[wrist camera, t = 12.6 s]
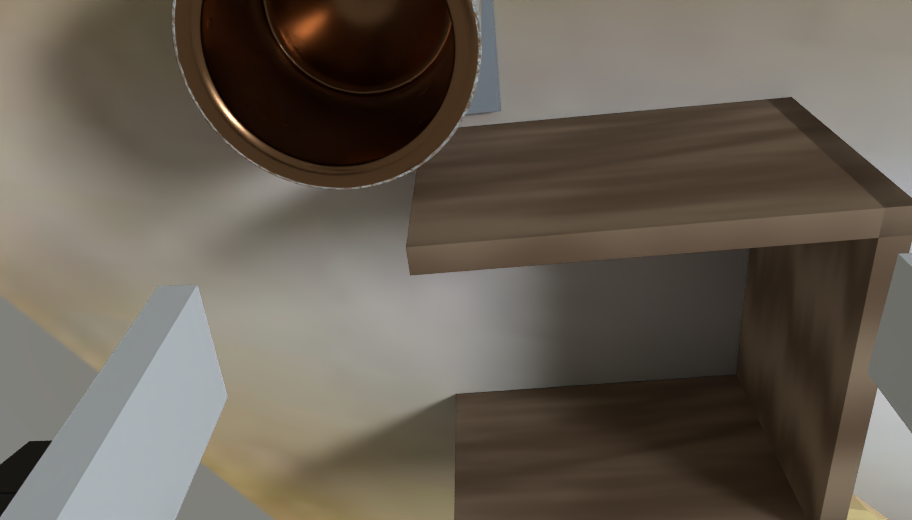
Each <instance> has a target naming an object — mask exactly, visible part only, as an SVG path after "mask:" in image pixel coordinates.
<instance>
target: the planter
mask: <svg viewBox="0 0 912 520" xmlns="http://www.w3.org/2000/svg"><path fill="white" fill-rule="evenodd" d="M481 11H482V3H481V0H173V4H172V35H173V43H174V49H175V54H176V58H177V62H178V66H179V69H180V72H181V75H182V78H183V80H184V83H185V85H186V87H187V89H188V91H189V94H190V96H191V98H192V99H193V101H194V103H195V105H196V106H197V108H198V109H199V111H200V112H201V114H202V115H203V117H204V118H205V120H206V121H207V122H208V124H209V125H210V126H211V127H212V129H213V130H214V131H215V132H216V133H217V134H218V135H219V136H220V137H221V138H222V139H223V140H224V141H225V142H226V143H227V144H228V145H229V146H230V147H231V148H232V149H233V150H235V151H236V152H237V153H238V154H240V155H241V156H242V157H244V158H245V159H246V160H248V161H249V162H251V163H252V164H254V165H255V166H257V167H259V168H261V169H263V170H264V171H266V172H268V173H270V174H272V175H274V176H277V177H279V178H282V179H284V180H287V181H290V182H293V183H296V184H300V185H304V186H308V187H313V188H319V189H329V190H352V189H361V188H367V187H372V186H376V185H380V184H384V183H387V182H390V181H392V180H395V179H397V178H400V177H402V176H404V175H406V174H408V173H410V172H412V171H413V170H415V169H416V168H418V167H420V166H421V165H423V164H424V163H425V162H427V161H428V160H429V159H431V158H432V157H433V156H434V155H435V154H436V153H437V152H438V151H439V150H440V149H441V148H442V147H443V146H444V145H445V144H446V143H447V142H448V141H449V139H450V138H451V137H452V136H453V134H454V133H455V132H456V130H457V129H458V127H459V126H460V124H461V122H462V121H463V119H464V117H465V115H466V113H467V111H468V109H469V107H470V104H471V102H472V99H473V96H474V93H475V90H476V86H477V83H478V78H479V73H480V67H481V57H482V32H481Z"/></svg>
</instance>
